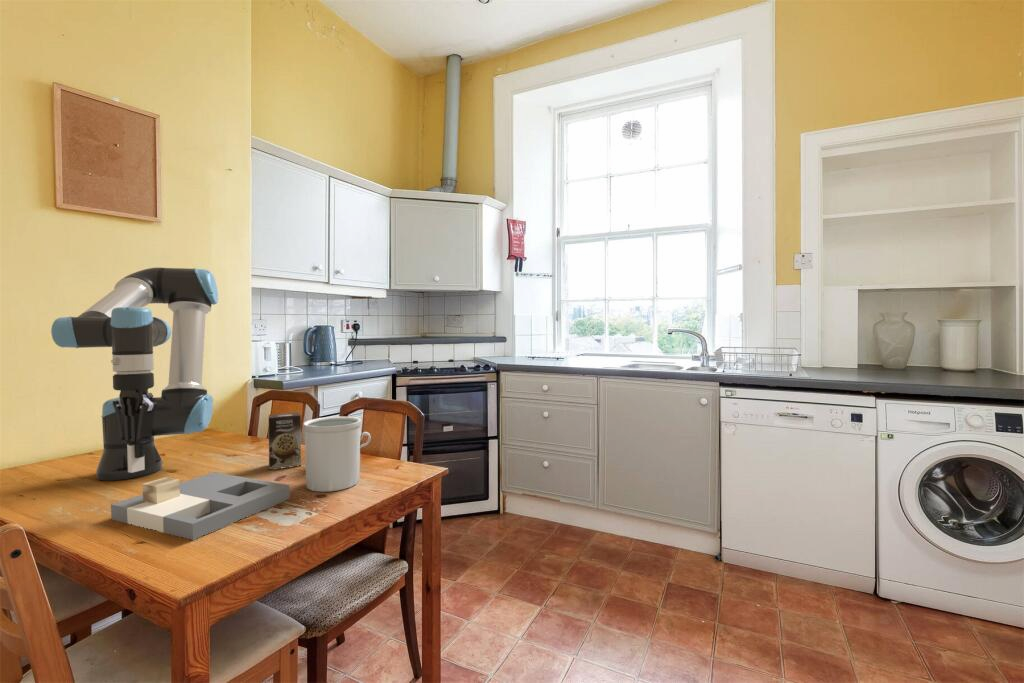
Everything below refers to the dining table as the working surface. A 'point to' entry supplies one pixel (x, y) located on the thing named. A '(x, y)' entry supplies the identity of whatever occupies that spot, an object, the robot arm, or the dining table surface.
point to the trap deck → (202, 505)
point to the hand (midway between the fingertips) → (136, 470)
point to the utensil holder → (332, 453)
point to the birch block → (161, 490)
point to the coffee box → (284, 440)
